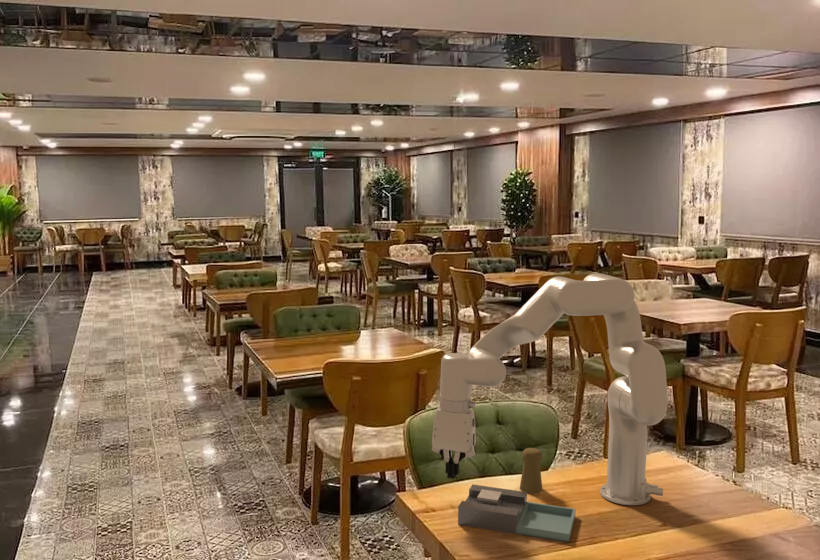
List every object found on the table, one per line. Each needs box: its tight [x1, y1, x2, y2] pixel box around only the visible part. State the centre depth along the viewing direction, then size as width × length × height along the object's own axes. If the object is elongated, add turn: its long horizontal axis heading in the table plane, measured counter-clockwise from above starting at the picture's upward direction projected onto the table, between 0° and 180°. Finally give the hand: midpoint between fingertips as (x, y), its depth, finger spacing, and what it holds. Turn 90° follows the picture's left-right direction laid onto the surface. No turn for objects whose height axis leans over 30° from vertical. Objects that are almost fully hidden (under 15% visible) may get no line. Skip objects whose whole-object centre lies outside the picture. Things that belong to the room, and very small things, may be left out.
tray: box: [515, 501, 577, 543], centre depth 173 cm, size 12×14×2 cm
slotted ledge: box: [457, 484, 528, 535], centre depth 177 cm, size 14×14×4 cm
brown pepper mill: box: [519, 447, 543, 495], centre depth 194 cm, size 6×6×11 cm
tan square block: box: [477, 489, 502, 506], centre depth 177 cm, size 5×5×2 cm
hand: (452, 476), depth 179 cm, fingers closed
